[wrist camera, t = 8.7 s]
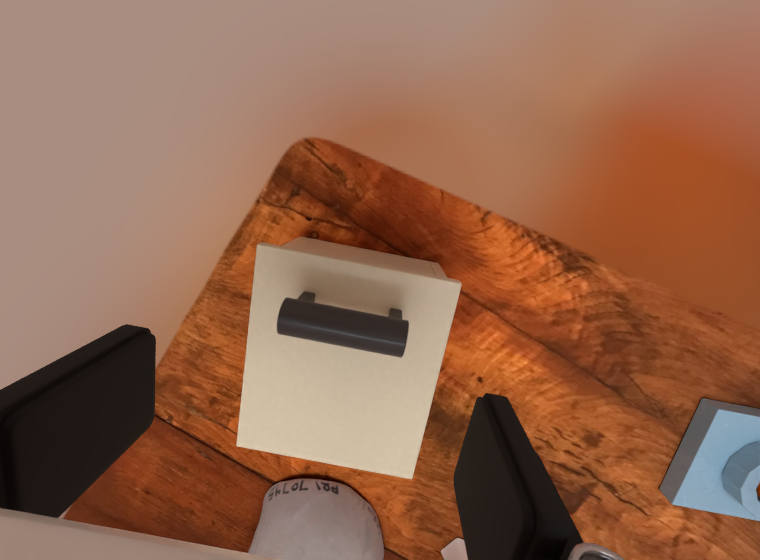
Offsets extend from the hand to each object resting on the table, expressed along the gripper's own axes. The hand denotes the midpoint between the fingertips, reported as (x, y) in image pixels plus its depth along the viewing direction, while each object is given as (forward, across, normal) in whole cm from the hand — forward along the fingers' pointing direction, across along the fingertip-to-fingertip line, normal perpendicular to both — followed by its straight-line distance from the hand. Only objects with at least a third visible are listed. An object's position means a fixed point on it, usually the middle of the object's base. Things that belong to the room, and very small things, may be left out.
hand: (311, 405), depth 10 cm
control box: (+20, -37, +12) cm, 43 cm away
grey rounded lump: (+20, 0, +30) cm, 36 cm away
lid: (+11, 0, +5) cm, 12 cm away
